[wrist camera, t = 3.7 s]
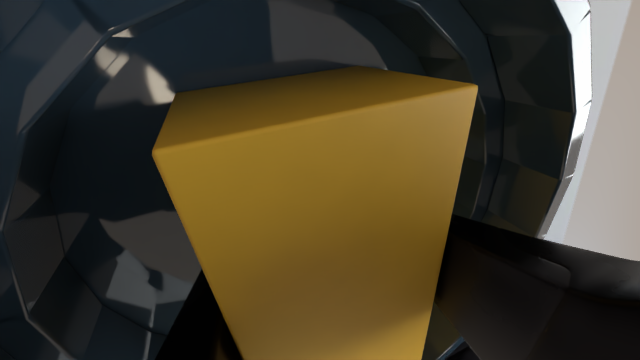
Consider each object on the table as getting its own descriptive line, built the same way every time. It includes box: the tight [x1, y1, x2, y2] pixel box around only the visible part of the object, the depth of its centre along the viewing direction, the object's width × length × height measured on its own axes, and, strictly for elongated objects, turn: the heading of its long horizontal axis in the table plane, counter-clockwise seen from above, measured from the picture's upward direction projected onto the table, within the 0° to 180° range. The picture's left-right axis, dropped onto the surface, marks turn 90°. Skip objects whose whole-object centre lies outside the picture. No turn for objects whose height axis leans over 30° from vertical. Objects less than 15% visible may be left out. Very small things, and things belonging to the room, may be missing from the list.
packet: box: [152, 66, 478, 360], centre depth 8 cm, size 5×9×4 cm, turn 4°
